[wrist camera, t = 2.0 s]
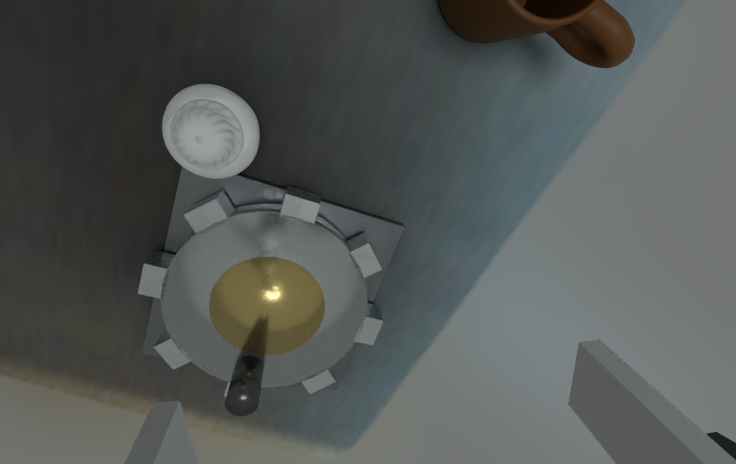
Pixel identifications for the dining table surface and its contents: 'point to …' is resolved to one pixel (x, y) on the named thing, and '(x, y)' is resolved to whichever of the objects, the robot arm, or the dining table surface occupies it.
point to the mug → (547, 25)
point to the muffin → (210, 131)
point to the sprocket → (263, 296)
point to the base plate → (257, 191)
